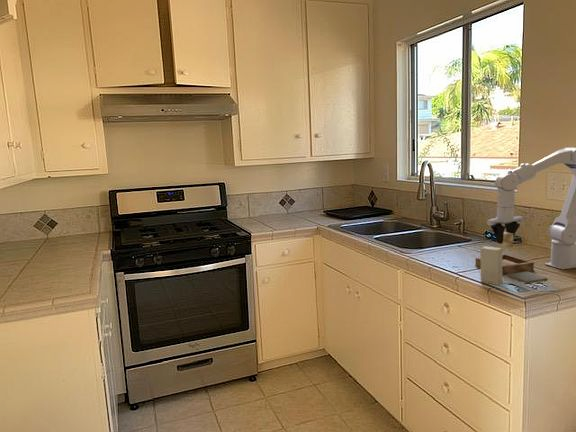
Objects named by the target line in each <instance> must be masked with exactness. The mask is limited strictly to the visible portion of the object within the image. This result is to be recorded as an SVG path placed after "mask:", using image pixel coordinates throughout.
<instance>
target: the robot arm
mask: <svg viewBox="0 0 576 432" xmlns="http://www.w3.org/2000/svg"><path fill="white" fill-rule="evenodd" d="M557 164H563V165H565V166H566V167H567V168H568V169H569V170H570V172H571V173H572V174H573V177H572V180H571V183H570V185H569V188H568V191H567V194H566V197H565V200H564V203H563V206H562V208H561V212H560V214H559V216H557V217H556V218H555V219H554V221H553V223H552V225H550V226H549V228H548V236H549V237H550V238H551V248H550V262H544V265H545V266H550V267H552V268H555V269H559V270H568V269H574V268H576V147H575V146H574V147H572V146H566V147H564V148H562V149H558V150H556V151H554V152H553V153H551V154H549V155H548V156H545V157H544V158H543V157H542V159H540V160H537V161H536V162H534V163H532V164H531V163H520V164H519V166H518V167H516V168H515V169H511V170H510V169H509V170H508V171H507V173H501V174H499V175H498V176H497V177H496V179H495V181H494V185H495V187H496V188H497V195H496V196H497V199H496V216H495V218H489V219H487V220H486V225H487V226H489V227H490V228H491V230H492V232H493V234H494V236H495V240H496V241H497V243H499V244H502V242H503V234H504V232H509V233H513V239H514V238H515V235H516V233H517V230H518V229H519V228H520V227H521V224H520V223H523V222H524V217H523V216H520V215H519V216H515V198H516V197H515V194H516V193H515V191H516V189H517V187H518V186H519V185H521V184H523V183H525V182H527V181H530V180H532V179H534V178H535V177H536V176H537V173H538V172H542V171H544V170H546V169H548V168H550V167H552V166H555V165H557ZM503 224H504V225H503ZM496 241H495V242H496Z"/></svg>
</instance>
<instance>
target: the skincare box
mask: <svg viewBox="0 0 576 432" xmlns="http://www.w3.org/2000/svg"><path fill="white" fill-rule="evenodd" d="M502 254H503V248H502V247H498V246H496V247H494V246H487V245H486V246H483V247H481V248H480V257H481V267H480V282H481V283H484V284H485V283H486V284H489V285H490V284H493V285H497V286H498V285H500V284H501V282H502V283H503V275H502Z"/></svg>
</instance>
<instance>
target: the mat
mask: <svg viewBox="0 0 576 432" xmlns="http://www.w3.org/2000/svg"><path fill="white" fill-rule="evenodd" d="M505 276H506V277H507V276H508V278H510V277H511V278H510V279H513V280H516V281H519V282H521V281H522V282H521V283H524V284H528V283H529V284H530V283H536V282H541V281H548V278H547V277H546V276H543V275H539V274H536V273H534V272H531V271H526V272H519V273H512V274H506V275H505Z"/></svg>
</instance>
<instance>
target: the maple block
mask: <svg viewBox="0 0 576 432" xmlns="http://www.w3.org/2000/svg"><path fill="white" fill-rule="evenodd" d="M495 246H496V247H498V248H502V249H506V248H513V246H514V238H513V233H509V232H506V231H504V234H503V242H502V244H499V243H497V241H495Z"/></svg>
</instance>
